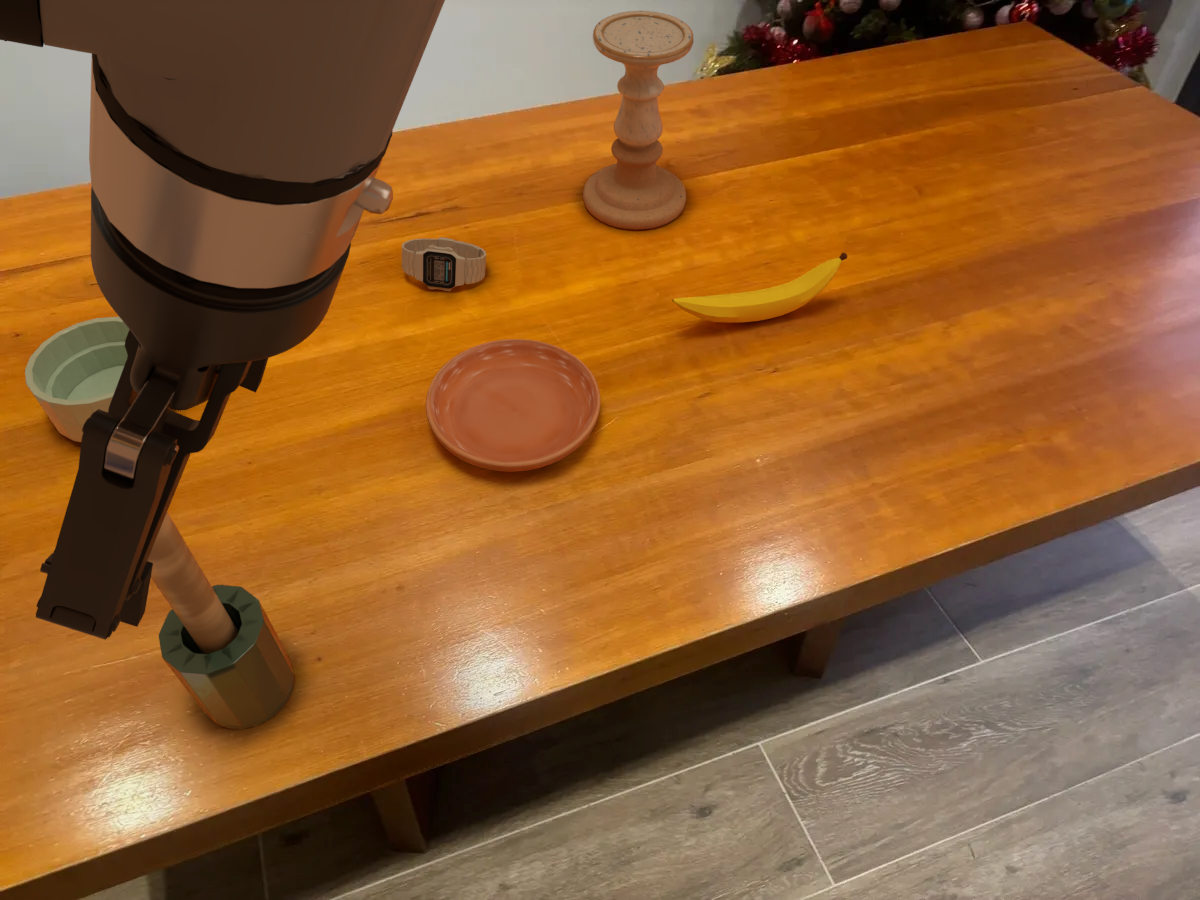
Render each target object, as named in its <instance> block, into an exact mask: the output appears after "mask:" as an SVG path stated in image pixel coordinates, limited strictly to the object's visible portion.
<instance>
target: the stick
mask: <svg viewBox="0 0 1200 900" xmlns="http://www.w3.org/2000/svg"><path fill="white" fill-rule="evenodd" d="M147 561H148V562H151V563H153V567H152V573H151V580H152V581H153V582H154V584H155V586H156V587H157V588H158V590H159V591H160V593H161V594H162V596H163V598H164V599H165V600H166V603H168V605H169V607H171V608H170V609H171V610H172V609H173V610H174V612H175V613H176V615H177V616H178V618H179V619H180V621H181V622H182V624H183V625H184V627H185V628H186V630H187V631H188V632H189V634H190V635H191V637H192V638H193V640H194V641H195V643H196V644H197V646H198V647H199V649H200V650H201V652H202V653H203V654H210V653H213V652H216V651H219V650H221V649H224V648H225V647H227V646H228V645H229V644H230V643H231V642H232V641H233V640H234V639H235V638H236V637H237V635H238V633H239V632H238V630H237V628H236V627H235V625H234V623H233V622H232V620H231V618H230V617H229V615H228V613H227V612H226V610H225V608H224V606H223V605H222V603H221V601H220V600H219V598H218V596H217V595H216V593H215V591H214V590H213V588H212V586H213V585H211V583H210V581H209V579H208V578H207V576H206V574H205V573H204V571H203V569H202V567H201V566H200V564H199V563H198V561H197V559H196V557H195V556H194V554H193V553H192V551H191V549H190V548H189V546H188V544H187V542H186V541H185V539H184V538H183V536H182V534H181V532H180V531H179V529H178V527H177V526H176V524H175V522H174V521H173V518H172V517H171V516H170V514H169V512H168V511H167V513H166V516H165V518H164V521H163V523H162V525H161V528H160V530H159V533H158V535H157V538H156V540H155V543H154V545H153V548H152V550H151V553H150V555H149V557H148V560H147Z"/></svg>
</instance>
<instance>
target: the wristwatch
mask: <svg viewBox="0 0 1200 900" xmlns="http://www.w3.org/2000/svg"><path fill="white" fill-rule="evenodd" d="M486 264H487V252H486V250H484V249H483V248H482V247H480V246H478V245H475V244H472V243H469V242H466V241H461V240H456V239H453V238H449V237H441V236H440V237H438V238H415V239H409V240H406V241H404V242H403V243H402V244H401V268H402V271H403V272H404V273H405V274H406V275H408V276H410V277H413V278H414V279H415V280H416V281H420V282H421V283H423V284H424V285H425V286H426V287H427V289H429V290H431V291H433V290H440V291H444V292H451V291H452V289H454V288H456V287H458V286H459V287H460V286H464V284H465V285H470V284H471V285H472V284H475V283H478V282H481V281H482V280H484V278H485V276H486V266H487V265H486Z"/></svg>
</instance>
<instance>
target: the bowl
mask: <svg viewBox="0 0 1200 900" xmlns="http://www.w3.org/2000/svg"><path fill="white" fill-rule="evenodd" d="M128 332H129V328H128V327H127V326H126V324H125V323H124V322H123V321H122V319H121V318H120V317H119V316H108V317H107V316H105V317H95V318H92V319H88V320H84V321H80V322H77V323H75V324H72V325H69V326H68V327H66V328H63V329H61V330H59V331H57V332H55V333H54V334H52V335H51V336H50V337H48V338H47V339H45V340H44V341H43V342H42V343H41V344H40V345H39V346H38V347H37V348H36V349H35V351H34V352H33V353H32V354H31V355H30V357H29V359H28V362H27V364H26V366H25V369H24V377H25V385H26V387H27V388H28V389H29V391H30V393H31V394H32V395H33V397H34V399H35V400H36V401H37V403H38V404H39V406H40V407H41V409H42V410H43V412H44V413H45V415H46V416H47V417H48V419H49V420H50V422H51V423H52V425H53V426H54V428H55V429H56V430H57V431H58V433H59V434H60V435H62V436H64V437H65V438H67V439H69V440H71V441H74V442H76V443H81V439H82V435H83V432H82V428H83V426H84V424H85V422H86V420H87V419H88V418H89V417H90V416H91V415H92V413H94V412H95V411H96V410H98V409H100V410H103V411H105V412H108V409H109V405H110V403H111V400H112V397H113V395H114V392H115V389H116V387H117V384H118V381H119V379H120V376H121V373H122V371H123V368H124V365H125V363H126V360H127V356H128V355H127V352H126V348H125V340H126V337H127V335H128Z"/></svg>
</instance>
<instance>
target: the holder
mask: <svg viewBox="0 0 1200 900" xmlns="http://www.w3.org/2000/svg"><path fill="white" fill-rule="evenodd" d="M211 586H212V588H213V590H214V591H215V593H216V595H217V596H218V598H219V600H220V601H221V603H222V605H223V606H224V608H225V610H226V612H227V613H228V615H229V617H230V618H231V620H232V622H233V623H234V625H235V627H236V628H237V630H238V632H239V633H238V635H237V637H236V638H235V639H234V640H233V641H232V642H231V643H230V644H229V645H228V646H227V647H225V648H224V649H221V650H219V651H216V652H213V653H210V654H203V653H202V652H201V650H200V649H199V647H198V646H197V644H196V643H195V641H194V640H193V638H192V637H191V635H190V634H189V632H188V631H187V630H186V628H185V627H184V625H183V624H182V622H181V621H180V619H179V618H178V616H177V615H176V613H175V612H174V610H173V609H172V608H171V609H170V610H169V611H168V613H167V614H166V617H165V620H164V622H163V623H162V626H161V629H160V630H159V633H158V643H159V647H160V654H161V658H162V660H163V661H164V662H165V664H166V665H167V666H168V667H169V668H170V670H171V671H172V672H173V674H174V675H175V676H176V678H177V679H178V681H179V682H180V683H181V685H182V686H183V687H184V688H185V690H186V691H187V692H188V694H189V695H190V696H191V698H192V699H193V700H194V701H195V703H196V704H197V706H199V708H200V709H201V710H202V712H203V713H204V714H206V715H207V716H208V718H209V719H210V720H212V722H214V724H216V725H218V726H220V727H223V728H226V729H231V730H246V729H251V728H255V727H257V726H260V725H262V724H264V723H266V722H268V721H269V720H270V719H272V718H273V717H274V716H276V715H277V714H278V713H279V712H280V711H281V710H282V709H283V708H284V707H285V705H286V704H287V702H288V700H289V699H290V697H291V695H292V693H293V690H294V686H295V672H294V668H293V665H292V663H291V660H290V657H289V654H288V653H287V651H286V649H285V647H284V644H283V643H282V641H281V639H280V637H279V636H278V634H277V632H276V630H275V628H274V626H273V624H272V622H271V621H270V618H269V616H268V615H267V612H266V611H265V609H264V607H263V604H261V601H260V599H259V598H257V597H256V596H255V595H253V594H252V593H251V592H249V591H248V590H246V589H245V588H244V587H242V586H237V585H227V584H214V585H211Z"/></svg>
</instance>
